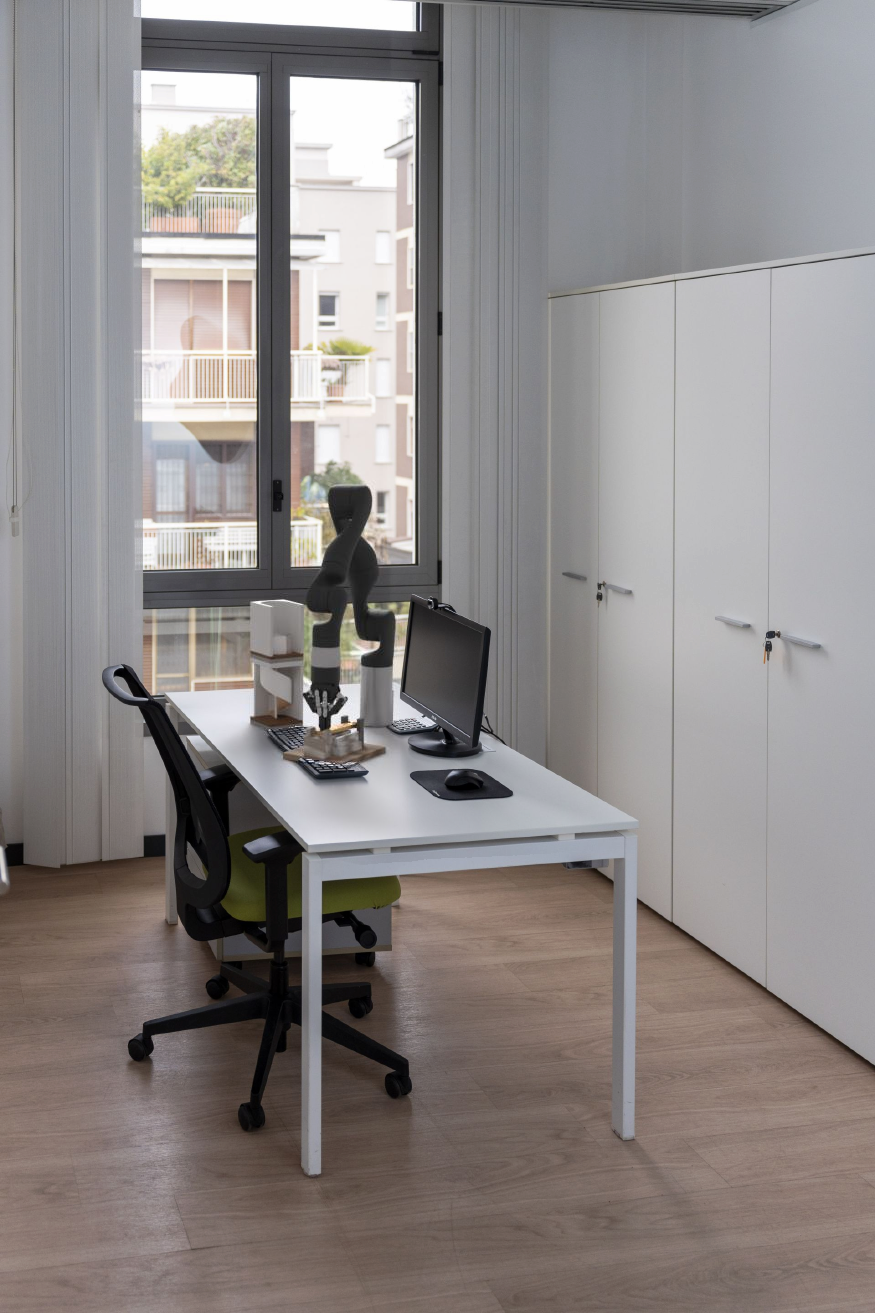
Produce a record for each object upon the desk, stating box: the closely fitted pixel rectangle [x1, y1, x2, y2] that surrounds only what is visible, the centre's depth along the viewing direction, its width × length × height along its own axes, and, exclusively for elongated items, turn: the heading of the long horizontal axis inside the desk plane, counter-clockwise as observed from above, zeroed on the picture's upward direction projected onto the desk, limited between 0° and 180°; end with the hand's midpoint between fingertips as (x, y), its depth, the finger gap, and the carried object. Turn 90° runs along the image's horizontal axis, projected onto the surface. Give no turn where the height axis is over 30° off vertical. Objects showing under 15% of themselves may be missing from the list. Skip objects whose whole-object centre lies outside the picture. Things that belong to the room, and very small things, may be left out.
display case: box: [249, 599, 305, 731], centre depth 374 cm, size 11×11×35 cm
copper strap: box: [315, 720, 357, 736], centre depth 344 cm, size 16×3×2 cm, turn 150°
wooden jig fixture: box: [282, 714, 387, 764], centre depth 344 cm, size 21×18×9 cm
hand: (324, 730), depth 339 cm, fingers closed
